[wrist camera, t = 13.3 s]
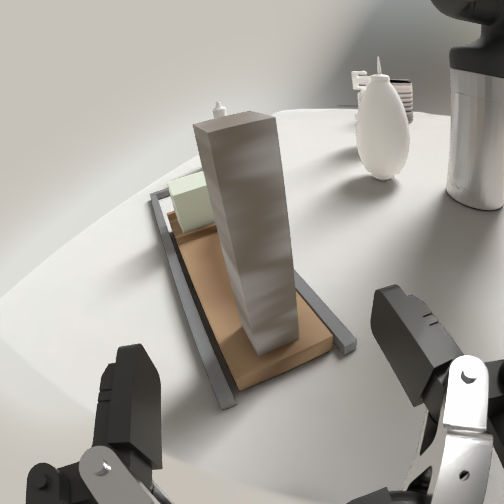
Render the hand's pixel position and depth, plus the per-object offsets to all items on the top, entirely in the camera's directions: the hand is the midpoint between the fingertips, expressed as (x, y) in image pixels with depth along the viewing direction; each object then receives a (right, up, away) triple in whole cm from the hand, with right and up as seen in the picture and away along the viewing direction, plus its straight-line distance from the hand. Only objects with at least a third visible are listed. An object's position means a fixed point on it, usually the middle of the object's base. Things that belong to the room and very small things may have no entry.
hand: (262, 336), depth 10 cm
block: (-6, +6, +26) cm, 28 cm away
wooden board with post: (-3, +1, +20) cm, 20 cm away
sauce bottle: (+19, +14, +33) cm, 41 cm away
